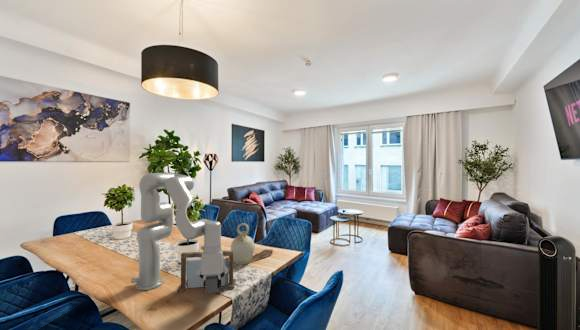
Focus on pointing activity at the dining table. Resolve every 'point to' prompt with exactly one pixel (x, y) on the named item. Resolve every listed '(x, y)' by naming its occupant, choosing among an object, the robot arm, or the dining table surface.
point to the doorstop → (211, 284)
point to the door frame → (199, 254)
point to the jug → (242, 247)
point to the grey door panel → (196, 280)
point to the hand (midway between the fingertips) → (212, 286)
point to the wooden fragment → (261, 255)
